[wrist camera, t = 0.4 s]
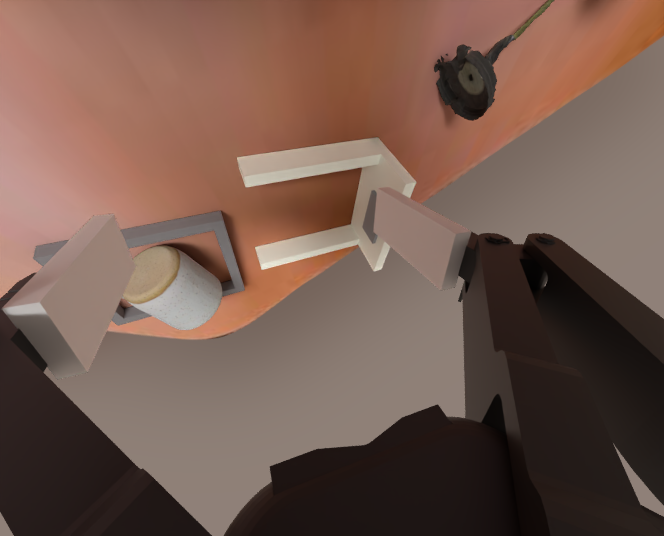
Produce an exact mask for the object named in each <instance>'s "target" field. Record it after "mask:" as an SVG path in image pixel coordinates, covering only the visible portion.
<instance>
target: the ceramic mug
mask: <svg viewBox="0 0 664 536" xmlns="http://www.w3.org/2000/svg"><path fill="white" fill-rule="evenodd" d="M133 261H134V263H135V266H136V267H135V269H134V272H133V274H132V276H131V278H130V280H129V283H128V285H127V287H126V289H125V291H124V294H123V296H122V298H123V299H126V300H127V301H128V302H129V303H130V304H131V305H133V306H134V307H136V308H137V309H139V310H141V311H143V312H145V313H148V314H150V315H152V316H153V317H155V318H157V319H159V320H161V321H163V322H165V323H166V324H168V325H170V326H172V327H174V328H176V329H180V330H190V329H194V328H197V327H199V326H201V325H202V324H204V323H205V322H207V321H208V320H209V319H210V318H211V317H212V316H213V315H214V313H215V312H216V310H217V309H218V307H219V305H220V302H221V299H222V287H221V284H220V281H219V280H218V278H217V277H215V276H214V275H213V274H211V273H210V272H209V271H207V270H206V269H205V268H203V267H202V266H201V265H199V264H198V263H197V262H195V261H194V260H193V259H191V258H190V257H189V256H188V255H186V254H185V253H184V252H182V251H180V250H178V249H176V248H174V247H171V246H167V245H160V246H155V247H151V248H149V249H146V250H145V251H143V252H141V253H140V254H138V255H137V256H136V257H135V258H134V259H133Z"/></svg>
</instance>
